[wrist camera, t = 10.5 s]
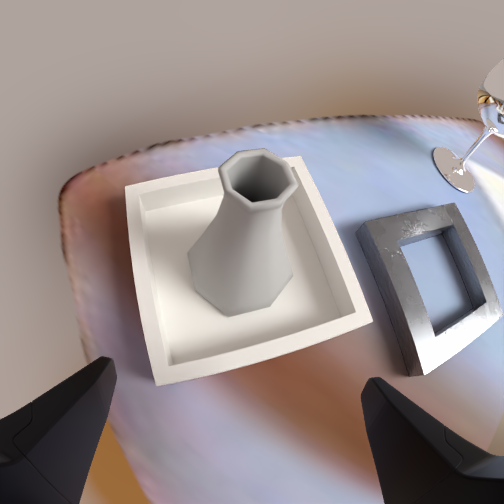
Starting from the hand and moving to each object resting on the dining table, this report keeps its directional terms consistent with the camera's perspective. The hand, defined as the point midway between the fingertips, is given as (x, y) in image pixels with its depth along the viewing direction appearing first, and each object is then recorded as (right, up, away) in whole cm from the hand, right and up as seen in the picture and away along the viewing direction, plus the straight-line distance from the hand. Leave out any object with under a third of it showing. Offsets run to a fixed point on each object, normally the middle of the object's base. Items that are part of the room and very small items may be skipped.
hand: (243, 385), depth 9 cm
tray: (-1, +3, +12) cm, 13 cm away
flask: (-1, +3, +12) cm, 13 cm away
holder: (+17, +2, +14) cm, 22 cm away
